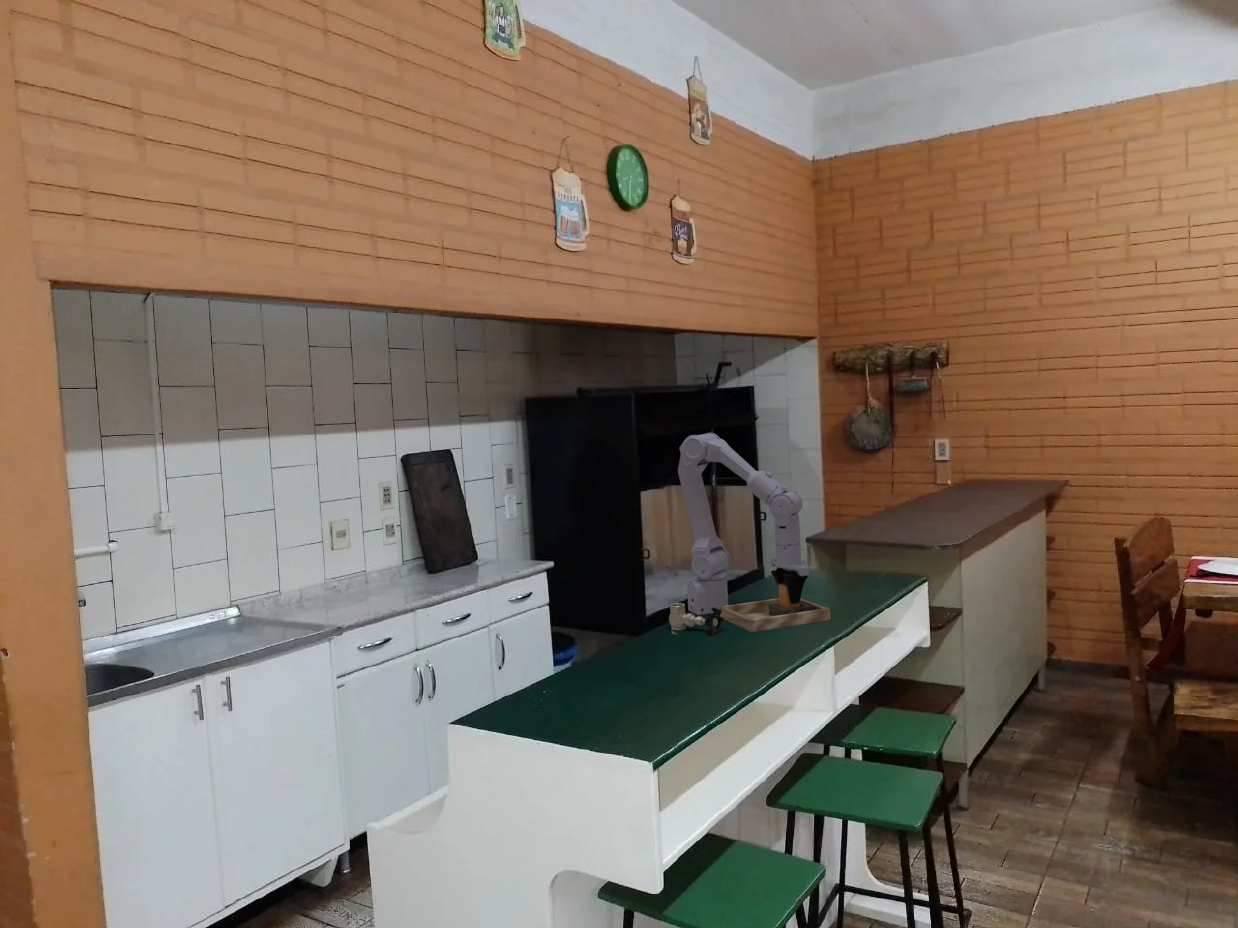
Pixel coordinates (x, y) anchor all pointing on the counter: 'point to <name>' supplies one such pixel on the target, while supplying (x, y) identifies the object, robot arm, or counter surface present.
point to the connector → (785, 597)
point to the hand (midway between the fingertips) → (790, 601)
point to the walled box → (773, 614)
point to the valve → (693, 619)
